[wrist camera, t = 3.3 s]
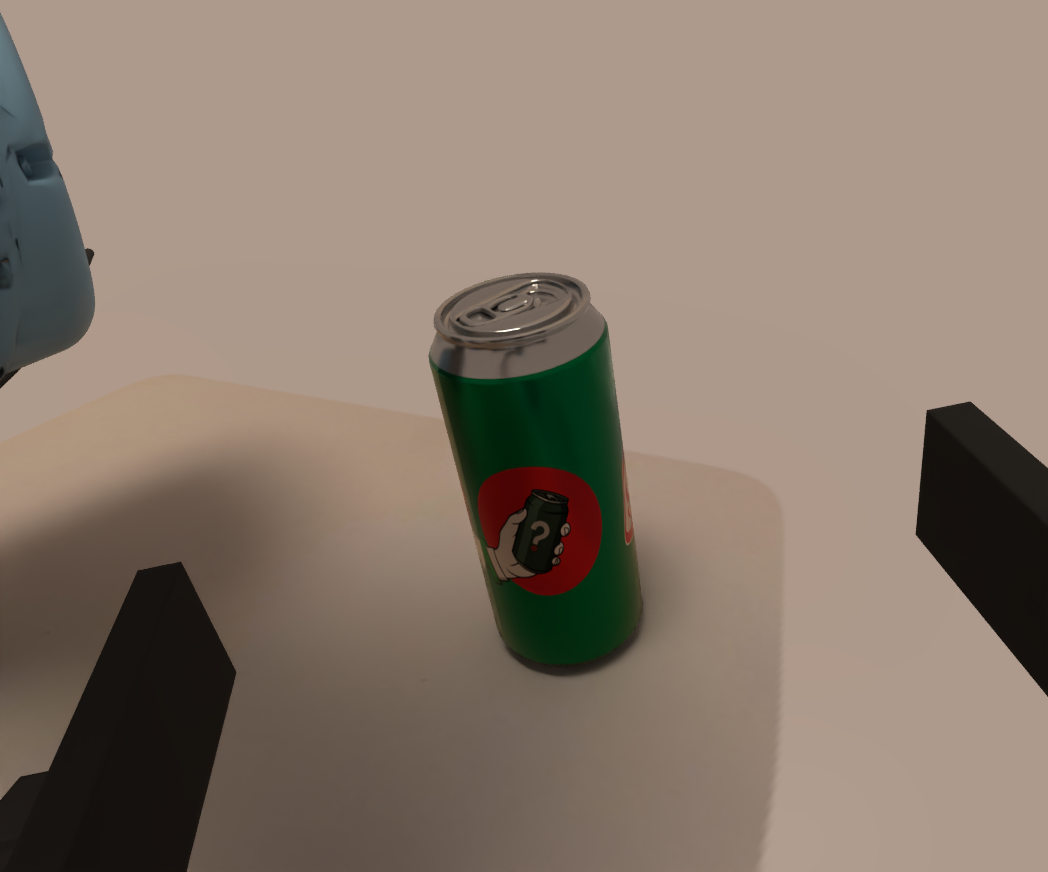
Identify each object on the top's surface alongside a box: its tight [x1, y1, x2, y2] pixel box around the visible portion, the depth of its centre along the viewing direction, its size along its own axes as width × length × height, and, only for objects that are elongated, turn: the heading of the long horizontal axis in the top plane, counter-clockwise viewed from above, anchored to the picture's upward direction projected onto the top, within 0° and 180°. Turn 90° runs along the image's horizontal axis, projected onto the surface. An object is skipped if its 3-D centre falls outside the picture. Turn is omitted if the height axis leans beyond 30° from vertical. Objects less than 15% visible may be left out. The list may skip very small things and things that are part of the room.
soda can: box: [429, 273, 643, 666], centre depth 26 cm, size 5×5×12 cm
